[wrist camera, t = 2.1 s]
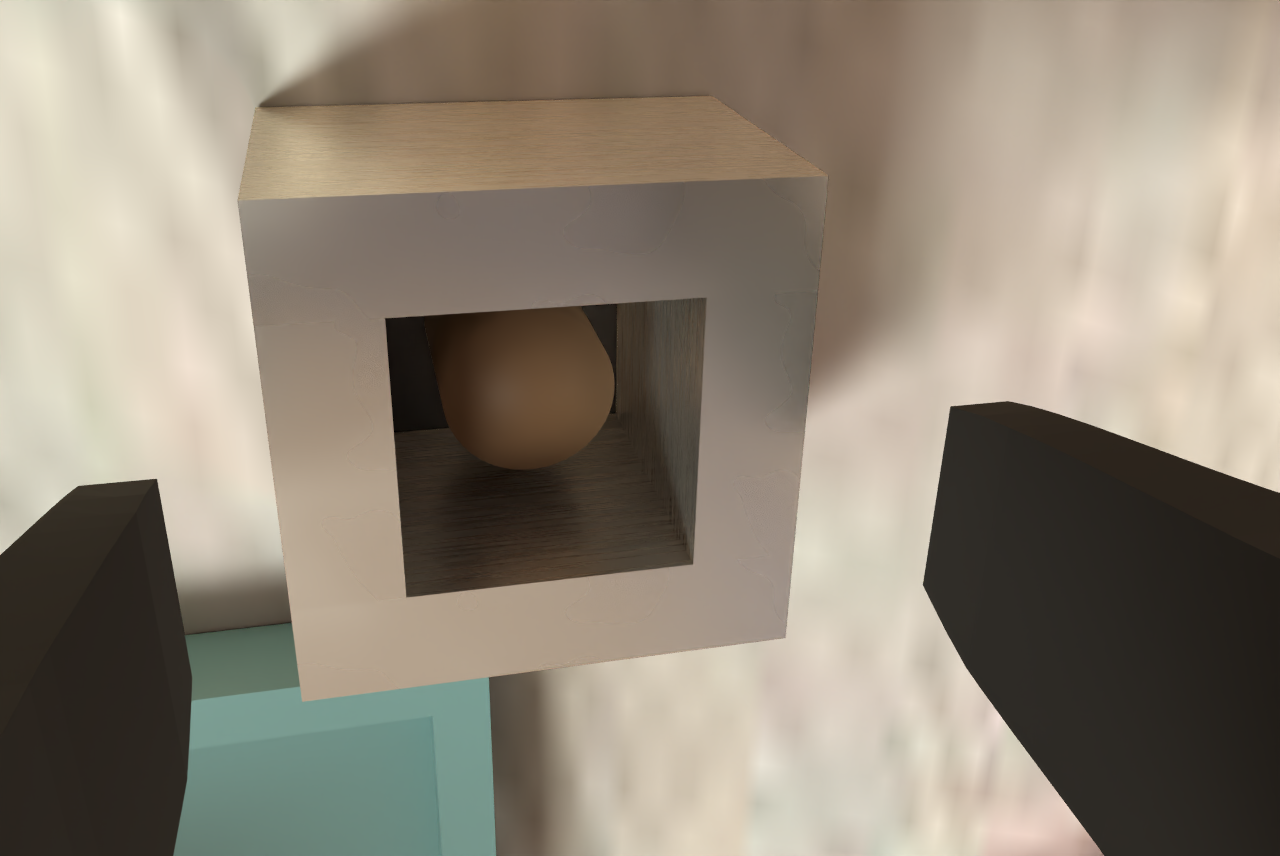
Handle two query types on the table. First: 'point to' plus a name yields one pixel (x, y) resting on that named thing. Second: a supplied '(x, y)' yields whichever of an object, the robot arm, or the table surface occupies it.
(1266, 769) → the robot arm
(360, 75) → the table surface
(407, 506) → the hollow square block
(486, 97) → the table surface
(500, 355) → the brown rounded shape
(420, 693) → the tray
